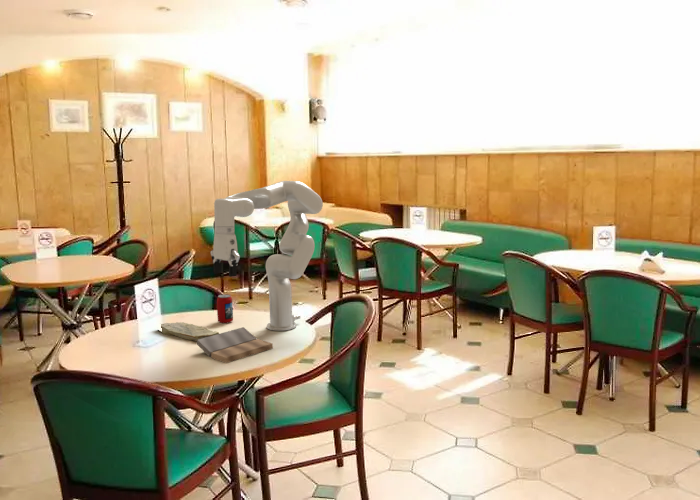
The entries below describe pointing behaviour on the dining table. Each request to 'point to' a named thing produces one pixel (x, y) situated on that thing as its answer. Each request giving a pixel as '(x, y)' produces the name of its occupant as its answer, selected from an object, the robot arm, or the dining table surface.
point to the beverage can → (224, 308)
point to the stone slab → (186, 331)
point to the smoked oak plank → (224, 340)
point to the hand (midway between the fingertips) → (225, 274)
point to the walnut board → (241, 350)
